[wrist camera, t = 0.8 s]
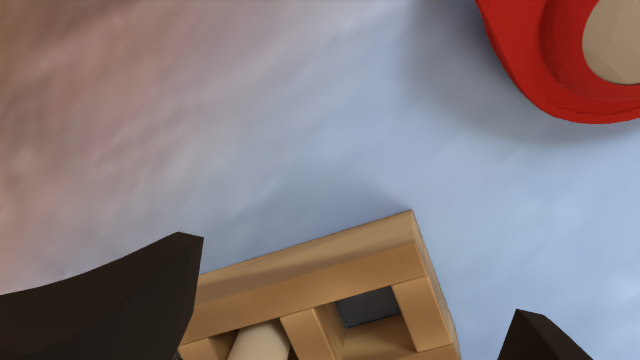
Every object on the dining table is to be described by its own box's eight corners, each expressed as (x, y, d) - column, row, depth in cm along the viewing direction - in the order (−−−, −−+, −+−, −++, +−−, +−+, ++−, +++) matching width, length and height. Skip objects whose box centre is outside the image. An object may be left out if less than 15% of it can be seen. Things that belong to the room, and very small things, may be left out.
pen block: (455, 328, 25) (464, 374, 22) (155, 407, 28) (129, 456, 25) (412, 207, 23) (415, 241, 21) (98, 305, 26) (63, 346, 24)
